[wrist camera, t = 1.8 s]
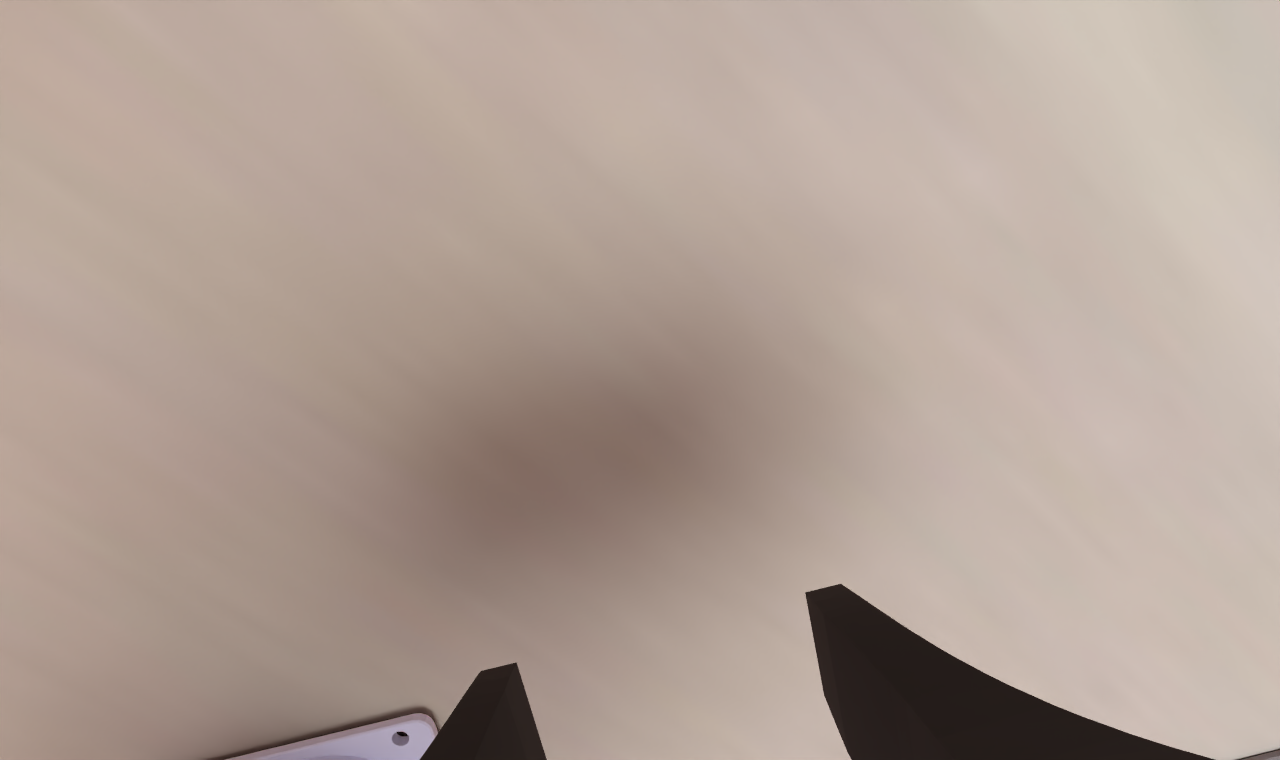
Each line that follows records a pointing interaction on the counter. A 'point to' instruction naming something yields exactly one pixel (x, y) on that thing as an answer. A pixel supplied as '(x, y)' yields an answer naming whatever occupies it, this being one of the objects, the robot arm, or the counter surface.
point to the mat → (1266, 756)
